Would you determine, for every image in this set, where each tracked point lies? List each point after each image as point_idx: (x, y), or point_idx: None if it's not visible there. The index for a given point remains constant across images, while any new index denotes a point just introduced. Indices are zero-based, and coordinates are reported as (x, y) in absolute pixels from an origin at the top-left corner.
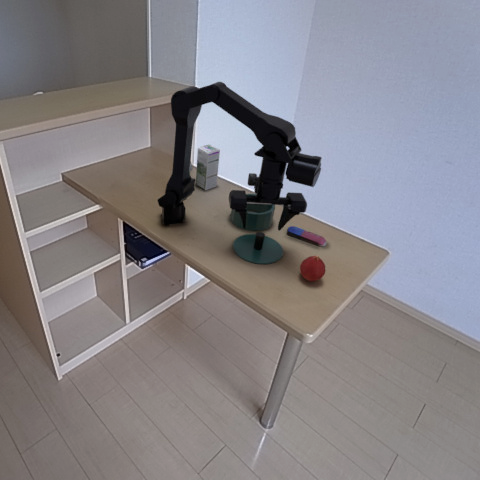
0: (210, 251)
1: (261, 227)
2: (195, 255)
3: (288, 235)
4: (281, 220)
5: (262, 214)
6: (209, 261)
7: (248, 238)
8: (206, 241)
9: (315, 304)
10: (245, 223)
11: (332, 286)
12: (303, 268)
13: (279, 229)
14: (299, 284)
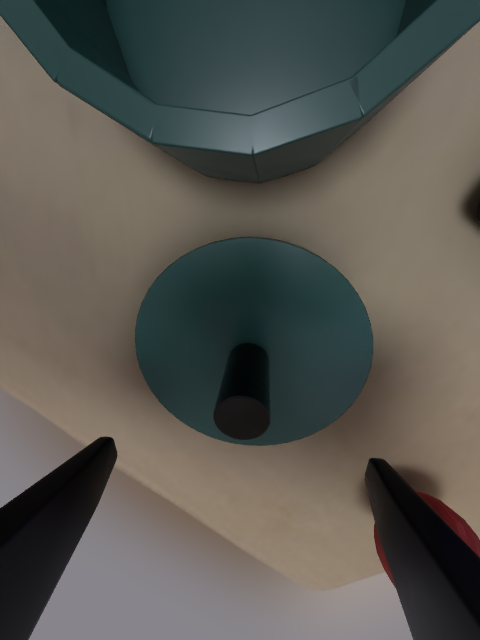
0: (61, 360)
1: (305, 164)
2: (17, 382)
3: (477, 214)
4: (424, 612)
5: (312, 136)
6: (73, 410)
7: (208, 289)
8: (24, 293)
9: (368, 550)
10: (76, 539)
11: (464, 510)
12: (385, 570)
13: (373, 497)
14: (356, 499)
